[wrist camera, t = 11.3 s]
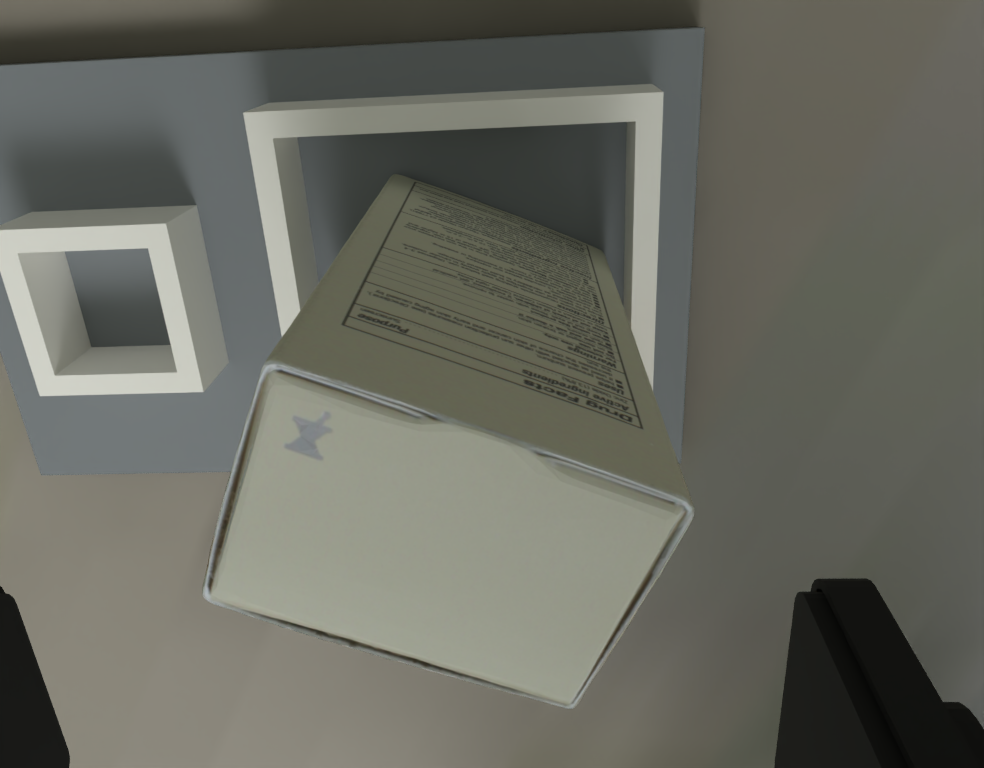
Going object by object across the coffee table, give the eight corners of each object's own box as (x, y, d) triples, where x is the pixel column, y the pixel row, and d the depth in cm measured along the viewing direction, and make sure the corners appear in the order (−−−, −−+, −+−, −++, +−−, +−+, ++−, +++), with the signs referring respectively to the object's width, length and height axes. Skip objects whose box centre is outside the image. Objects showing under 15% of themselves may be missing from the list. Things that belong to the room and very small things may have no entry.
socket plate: (698, 26, 20) (722, 30, 18) (677, 449, 25) (692, 500, 23) (-73, 68, 21) (-154, 77, 19) (54, 462, 27) (3, 511, 24)
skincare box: (346, 311, 23) (170, 602, 12) (393, 165, 21) (235, 346, 10) (558, 389, 24) (576, 730, 13) (620, 253, 22) (706, 513, 11)
